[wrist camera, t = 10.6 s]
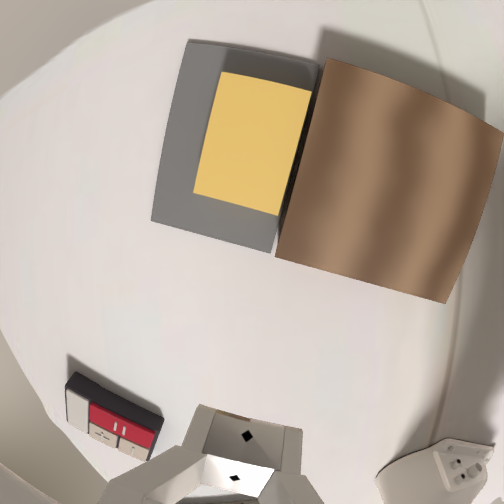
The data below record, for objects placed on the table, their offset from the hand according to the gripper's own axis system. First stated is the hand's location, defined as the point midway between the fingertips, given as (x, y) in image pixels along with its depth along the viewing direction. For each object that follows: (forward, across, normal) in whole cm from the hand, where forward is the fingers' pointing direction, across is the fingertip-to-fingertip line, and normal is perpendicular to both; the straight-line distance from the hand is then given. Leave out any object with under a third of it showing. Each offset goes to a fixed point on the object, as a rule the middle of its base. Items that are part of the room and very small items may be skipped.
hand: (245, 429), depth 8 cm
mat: (+22, +6, -6) cm, 23 cm away
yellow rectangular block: (+21, +4, -7) cm, 23 cm away
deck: (+22, -8, -6) cm, 24 cm away
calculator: (+22, +17, +35) cm, 45 cm away
